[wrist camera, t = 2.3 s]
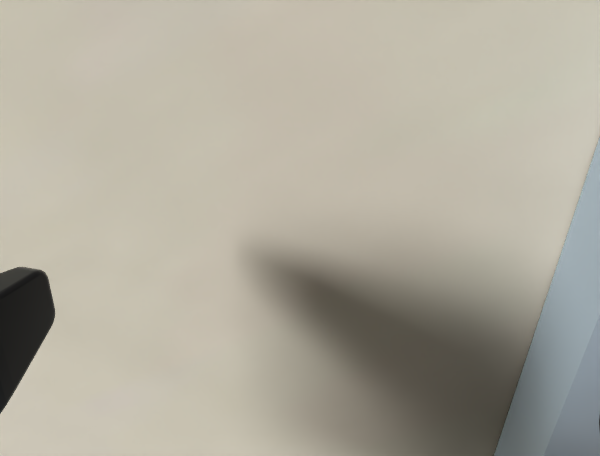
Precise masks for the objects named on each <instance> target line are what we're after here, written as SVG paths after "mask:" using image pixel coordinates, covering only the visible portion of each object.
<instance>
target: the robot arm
mask: <svg viewBox="0 0 600 456" xmlns="http://www.w3.org/2000/svg"><path fill="white" fill-rule="evenodd" d="M54 318H55V307H54V303H53V298H52V294H51V289H50V284H49V280H48V277H47V275H46V273H45V272H43V271H42V270H38V269H32V268H27V267H17V268H14V269H11V270H8V271H6V272H3V273H0V413H1V412H2V410H3V409H4V408H5V406H6V405H7V403H8V401H9V400H10V398H11V396H12V395H13V393H14V391H15V390H16V388H17V386H18V385H19V383H20V381H21V379H22V377H23V376H24V374H25V372H26V370H27V369H28V367H29V365H30V363H31V362H32V360H33V358H34V356H35V355H36V353H37V351H38V349H39V348H40V346H41V344H42V342H43V341H44V339H45V337H46V335H47V333H48V332H49V330H50V328H51V326H52V324H53V321H54ZM599 430H600V415H599Z"/></svg>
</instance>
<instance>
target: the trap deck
mask: <svg viewBox="0 0 600 456" xmlns="http://www.w3.org/2000/svg"><path fill="white" fill-rule="evenodd" d="M599 415H600V138H599V141H598V144H597V147H596V150H595V153H594V156H593V159H592V162H591V165H590V168H589V171H588V174H587V177H586V180H585V183H584V186H583V189H582V192H581V195H580V198H579V201H578V204H577V207H576V210H575V213H574V216H573V219H572V222H571V225H570V228H569V231H568V234H567V237H566V240H565V243H564V246H563V249H562V252H561V255H560V258H559V261H558V264H557V267H556V270H555V273H554V276H553V279H552V282H551V285H550V288H549V291H548V294H547V297H546V300H545V303H544V306H543V309H542V312H541V315H540V318H539V321H538V324H537V327H536V330H535V333H534V336H533V339H532V342H531V345H530V348H529V351H528V354H527V357H526V361H525V364H524V367H523V370H522V373H521V376H520V379H519V382H518V385H517V388H516V391H515V394H514V397H513V400H512V403H511V406H510V409H509V412H508V415H507V418H506V421H505V424H504V427H503V430H502V433H501V436H500V439H499V442H498V445H497V448H496V451H495V454H494V456H600V430H599Z"/></svg>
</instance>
